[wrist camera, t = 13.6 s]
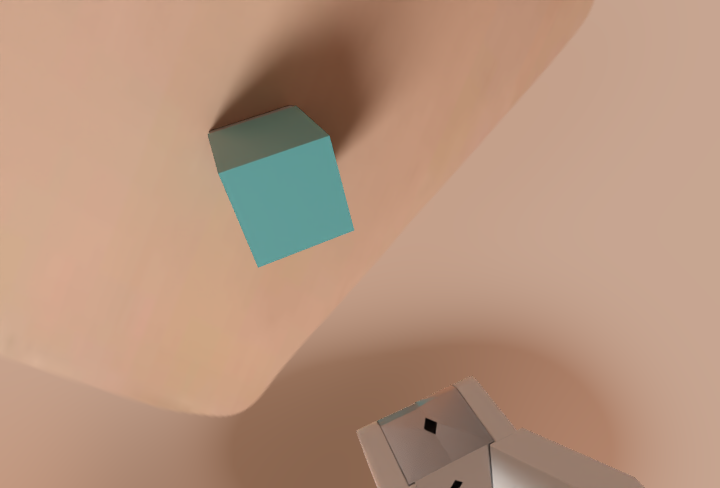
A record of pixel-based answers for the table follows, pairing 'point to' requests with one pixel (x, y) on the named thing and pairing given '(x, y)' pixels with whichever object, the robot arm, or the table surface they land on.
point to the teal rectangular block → (282, 183)
